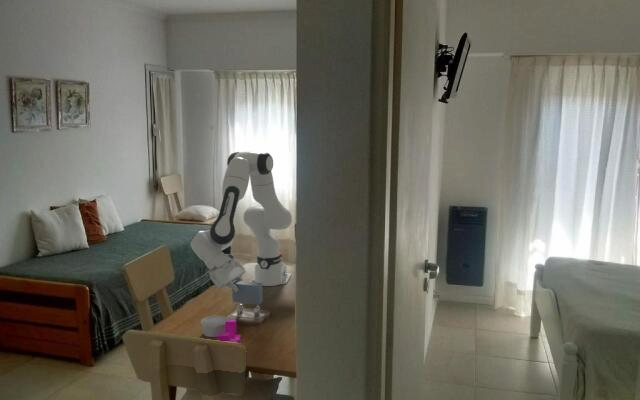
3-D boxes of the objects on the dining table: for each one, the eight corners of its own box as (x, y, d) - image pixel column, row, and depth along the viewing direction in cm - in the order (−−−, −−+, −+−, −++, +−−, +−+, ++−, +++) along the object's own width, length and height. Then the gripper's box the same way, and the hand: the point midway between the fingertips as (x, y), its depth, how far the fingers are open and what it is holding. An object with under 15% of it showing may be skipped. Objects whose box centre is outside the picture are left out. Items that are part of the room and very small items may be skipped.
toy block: (235, 355, 190) (234, 336, 189) (218, 355, 190) (217, 336, 189) (243, 338, 205) (242, 319, 203) (227, 338, 205) (226, 319, 204)
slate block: (237, 298, 226) (236, 280, 225) (262, 301, 222) (262, 283, 221) (232, 301, 222) (231, 283, 221) (258, 304, 218) (258, 286, 217)
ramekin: (222, 325, 217) (221, 312, 216) (234, 333, 208) (234, 321, 208) (196, 332, 211) (195, 319, 210) (208, 341, 202) (207, 328, 201)
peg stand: (239, 310, 233) (238, 298, 232) (272, 314, 228) (272, 302, 227) (223, 322, 219) (223, 310, 219) (258, 327, 214) (258, 314, 214)
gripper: (211, 266, 213) (234, 291, 211) (234, 253, 232) (255, 276, 231) (202, 276, 215) (224, 301, 213) (226, 262, 234) (247, 285, 233)
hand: (241, 288), depth 222 cm, fingers closed on slate block, 4 cm apart
